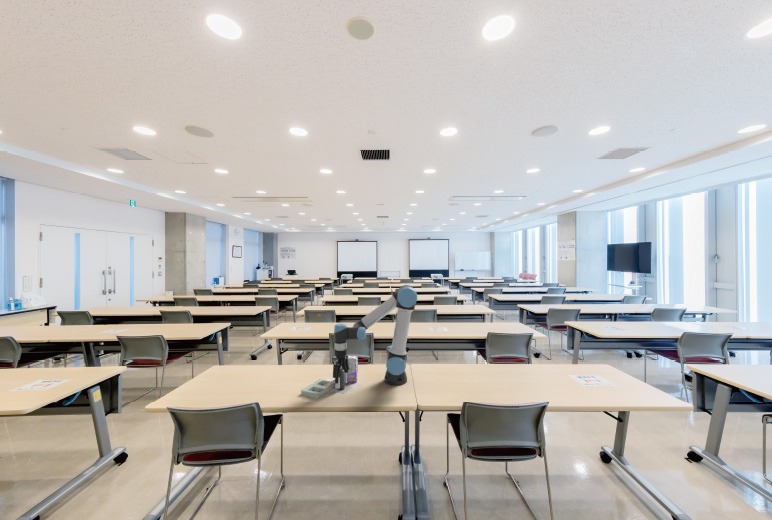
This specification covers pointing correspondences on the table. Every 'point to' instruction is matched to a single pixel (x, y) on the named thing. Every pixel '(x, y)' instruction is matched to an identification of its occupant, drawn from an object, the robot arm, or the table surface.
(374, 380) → the table surface
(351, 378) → the candy box
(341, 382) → the plug
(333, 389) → the mat
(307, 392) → the port box
